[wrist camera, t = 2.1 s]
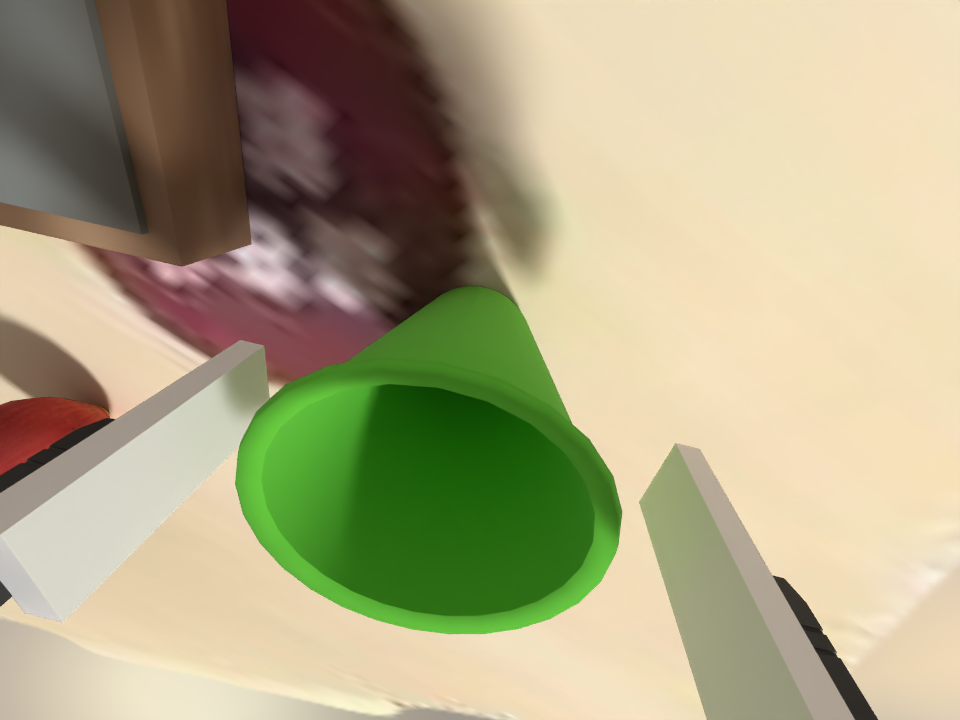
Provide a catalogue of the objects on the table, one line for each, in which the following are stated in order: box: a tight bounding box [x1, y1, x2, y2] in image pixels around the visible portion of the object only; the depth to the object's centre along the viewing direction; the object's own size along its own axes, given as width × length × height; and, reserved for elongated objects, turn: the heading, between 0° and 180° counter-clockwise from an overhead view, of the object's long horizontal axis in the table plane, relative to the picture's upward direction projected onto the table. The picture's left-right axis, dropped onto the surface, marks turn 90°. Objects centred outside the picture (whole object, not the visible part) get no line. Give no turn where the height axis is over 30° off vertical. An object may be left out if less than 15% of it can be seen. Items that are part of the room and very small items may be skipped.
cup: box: [235, 286, 622, 634], centre depth 13 cm, size 9×9×11 cm
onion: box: [0, 397, 110, 475], centre depth 20 cm, size 6×6×8 cm
